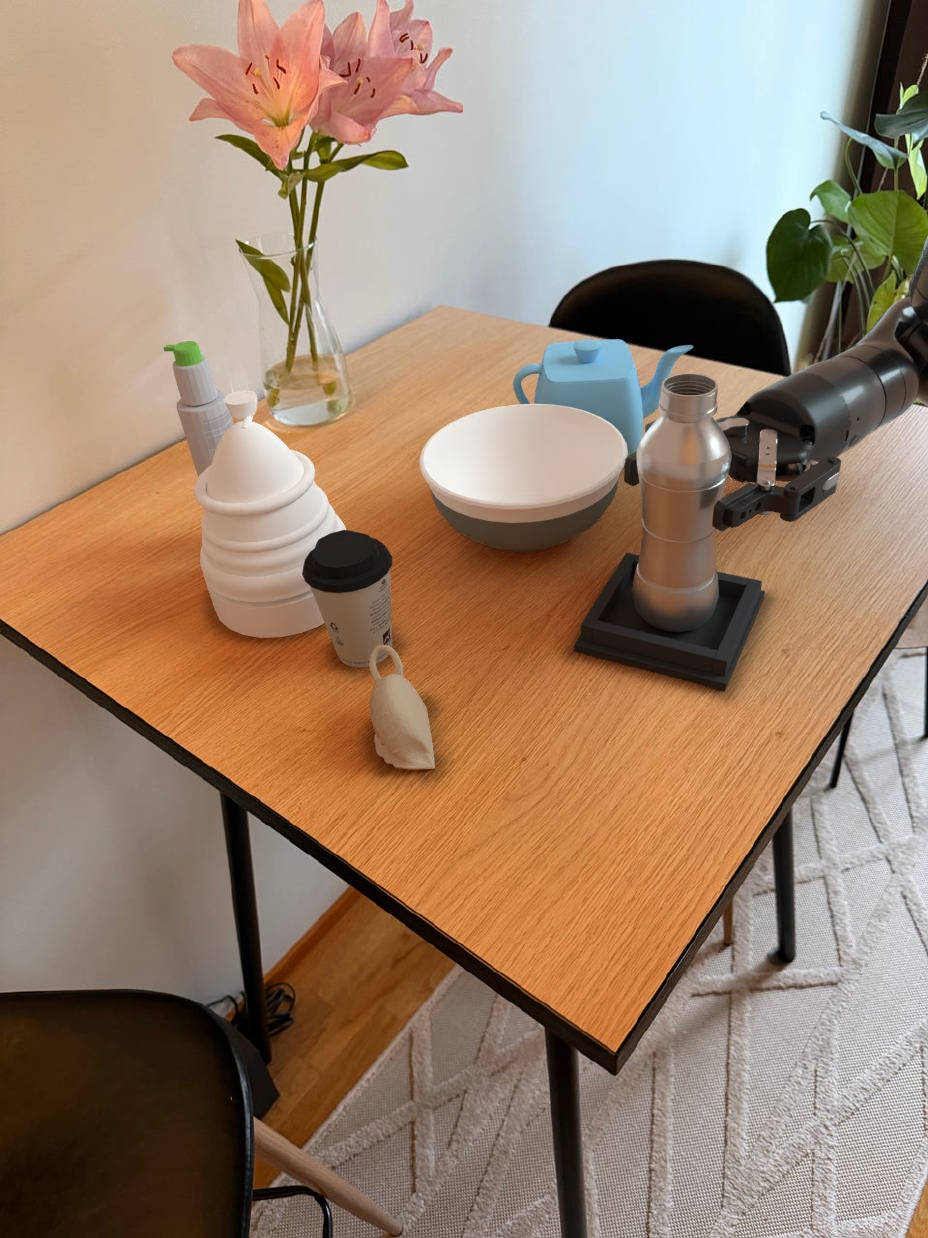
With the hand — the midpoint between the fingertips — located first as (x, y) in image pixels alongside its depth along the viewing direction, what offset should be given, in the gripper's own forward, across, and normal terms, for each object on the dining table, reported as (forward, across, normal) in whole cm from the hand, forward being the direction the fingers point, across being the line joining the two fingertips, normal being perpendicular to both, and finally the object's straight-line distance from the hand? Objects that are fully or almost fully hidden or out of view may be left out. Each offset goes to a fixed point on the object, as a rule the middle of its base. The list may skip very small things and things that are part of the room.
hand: (670, 495), depth 65 cm
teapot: (-18, -25, +13) cm, 34 cm away
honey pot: (+20, -26, +13) cm, 36 cm away
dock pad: (-1, 0, +13) cm, 13 cm away
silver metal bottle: (-1, 0, +12) cm, 12 cm away
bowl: (-2, -19, +13) cm, 23 cm away
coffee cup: (+19, -15, +13) cm, 27 cm away
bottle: (+19, -37, +13) cm, 44 cm away
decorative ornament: (+22, -5, +13) cm, 26 cm away
